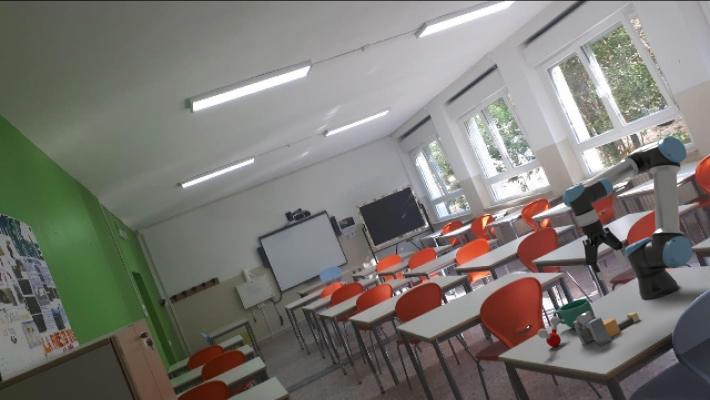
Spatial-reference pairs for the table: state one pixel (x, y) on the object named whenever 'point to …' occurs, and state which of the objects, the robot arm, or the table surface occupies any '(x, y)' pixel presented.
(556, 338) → the molecular model
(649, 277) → the robot arm
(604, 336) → the housing
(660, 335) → the table surface
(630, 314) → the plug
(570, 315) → the mug
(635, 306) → the table surface
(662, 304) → the table surface
